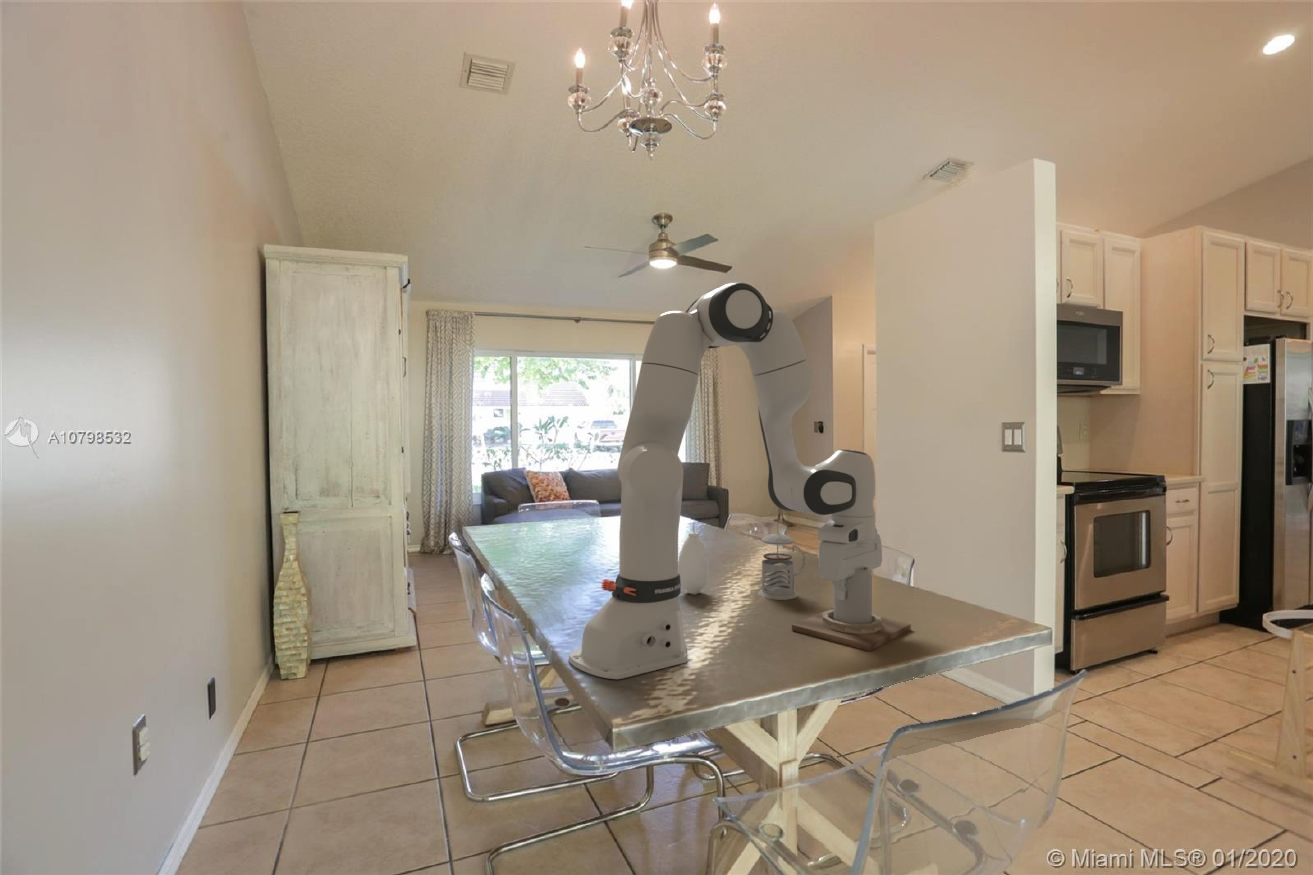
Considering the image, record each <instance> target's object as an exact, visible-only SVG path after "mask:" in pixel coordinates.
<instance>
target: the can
mask: <svg viewBox="0 0 1313 875" xmlns="http://www.w3.org/2000/svg"><path fill="white" fill-rule="evenodd" d="M868 570H869V568H868V567H866V569H865V570H855V574H854V575H853V576H851V577H848V578H846V583H845V584H844V586H845V590H846V591H848V594H847V596H848V598H847V599H845V600H839V599H837V598H836V590H835V587H834V586H833V608H834V620H835V621H838V622H842V623H848V624H870V623H871V622H872V613H873V609H872V608H873V607H872V606H873V603H872V602H873V576H872V573H871V574H870V573H869V572H868Z"/></svg>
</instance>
